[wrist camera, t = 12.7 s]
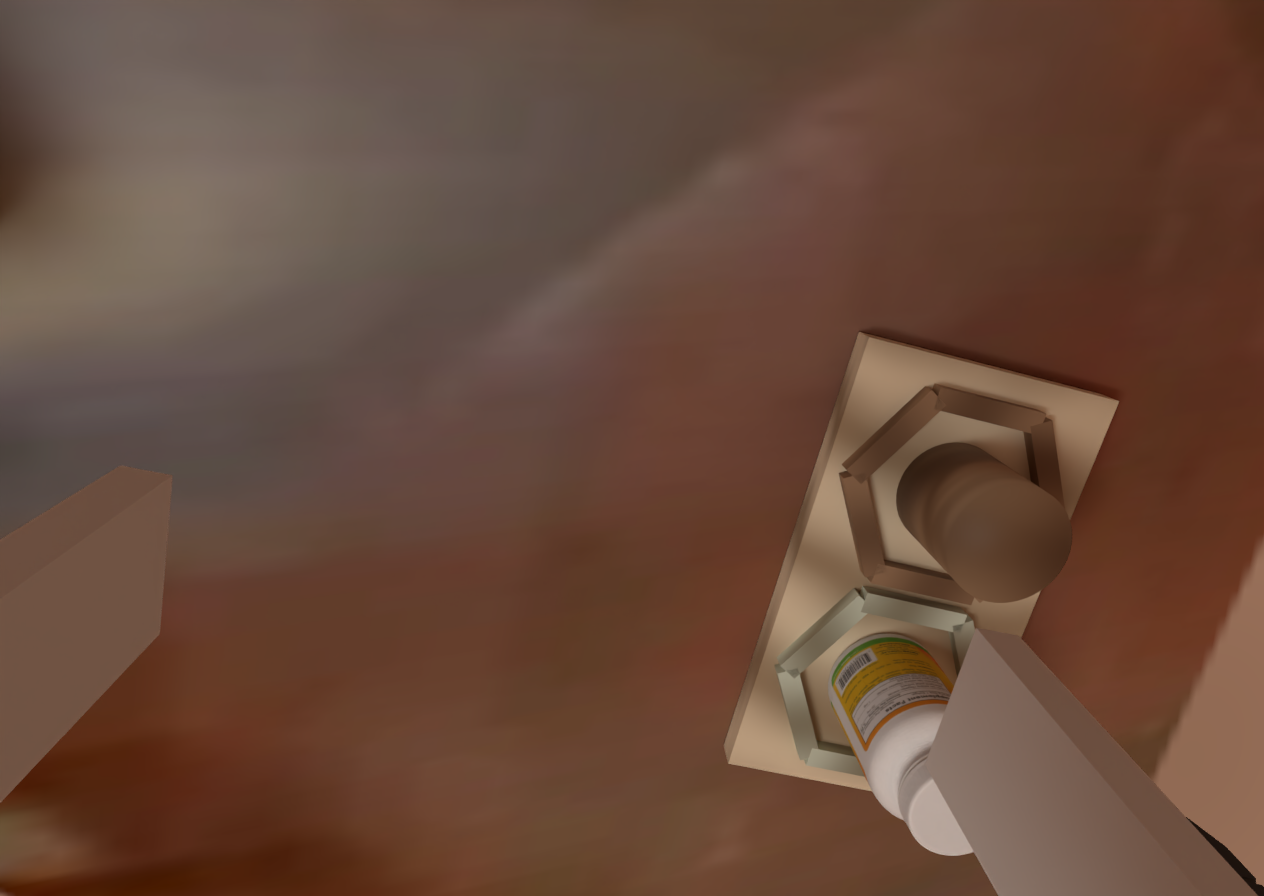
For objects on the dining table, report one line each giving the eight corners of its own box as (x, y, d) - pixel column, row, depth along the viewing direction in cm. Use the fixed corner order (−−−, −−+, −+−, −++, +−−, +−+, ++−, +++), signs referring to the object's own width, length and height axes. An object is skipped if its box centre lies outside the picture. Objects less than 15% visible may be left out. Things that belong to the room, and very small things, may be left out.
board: (858, 331, 40) (874, 340, 38) (1100, 393, 41) (1129, 405, 39) (723, 745, 46) (730, 773, 43) (939, 787, 47) (957, 817, 45)
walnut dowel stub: (917, 431, 40) (973, 472, 34) (1019, 456, 40) (1091, 500, 35) (881, 532, 41) (929, 588, 35) (980, 555, 42) (1044, 614, 36)
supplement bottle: (930, 726, 44) (1021, 869, 35) (823, 730, 44) (886, 875, 34) (939, 627, 43) (1037, 749, 33) (828, 631, 42) (895, 756, 33)
